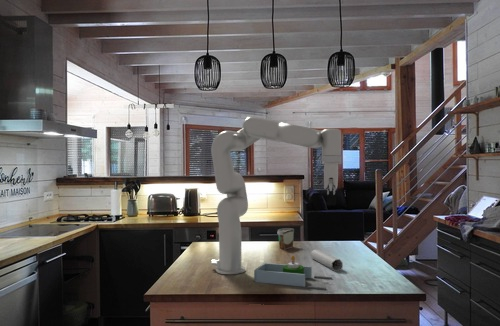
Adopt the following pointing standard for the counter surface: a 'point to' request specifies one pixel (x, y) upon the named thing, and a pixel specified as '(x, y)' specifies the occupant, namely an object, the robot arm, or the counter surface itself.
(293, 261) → the candle
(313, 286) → the strips
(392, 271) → the counter surface
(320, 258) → the tube
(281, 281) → the pale blue tray
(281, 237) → the food container
